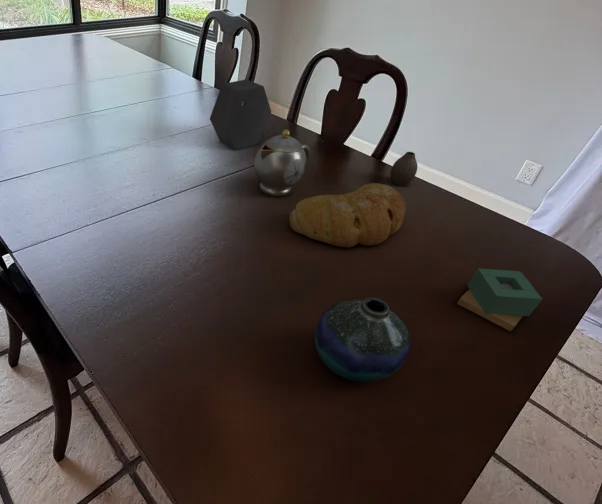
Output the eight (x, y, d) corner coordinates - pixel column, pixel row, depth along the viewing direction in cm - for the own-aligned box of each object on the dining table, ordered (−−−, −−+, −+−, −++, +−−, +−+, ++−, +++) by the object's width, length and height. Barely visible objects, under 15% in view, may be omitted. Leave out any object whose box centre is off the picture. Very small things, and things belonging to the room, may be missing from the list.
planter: (259, 117, 150) (241, 63, 132) (275, 125, 146) (258, 69, 128) (225, 153, 150) (202, 104, 132) (240, 162, 146) (219, 112, 128)
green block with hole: (508, 288, 94) (520, 271, 91) (528, 316, 88) (542, 299, 85) (467, 285, 94) (477, 268, 91) (484, 313, 88) (496, 295, 85)
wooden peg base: (477, 282, 97) (489, 264, 94) (529, 308, 92) (544, 289, 88) (456, 303, 92) (468, 284, 88) (510, 331, 87) (525, 312, 83)
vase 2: (383, 182, 131) (394, 152, 125) (393, 175, 135) (404, 146, 128) (405, 190, 128) (417, 160, 121) (414, 183, 131) (427, 153, 125)
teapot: (268, 207, 116) (280, 144, 105) (239, 185, 124) (247, 124, 112) (319, 193, 123) (335, 133, 112) (288, 173, 131) (300, 115, 120)
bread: (326, 262, 100) (338, 223, 93) (277, 220, 112) (285, 182, 105) (427, 234, 111) (445, 197, 104) (372, 198, 123) (385, 163, 116)
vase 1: (373, 330, 85) (400, 274, 75) (410, 393, 74) (446, 338, 64) (297, 333, 83) (314, 277, 73) (323, 399, 72) (347, 342, 63)
